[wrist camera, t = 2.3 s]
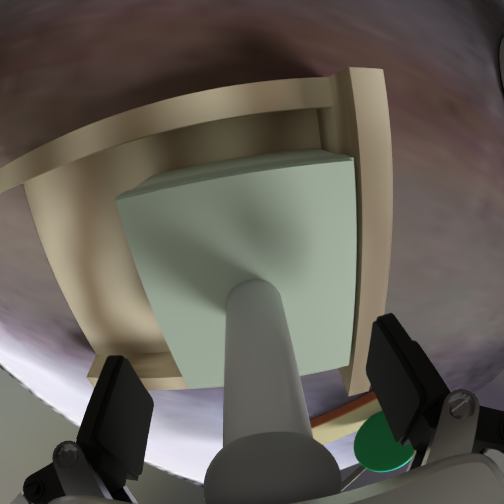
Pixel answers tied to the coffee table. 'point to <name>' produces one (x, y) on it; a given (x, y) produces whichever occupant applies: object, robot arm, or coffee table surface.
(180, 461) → the coffee table surface
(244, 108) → the bay
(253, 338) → the green joystick
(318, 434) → the crank mechanism
